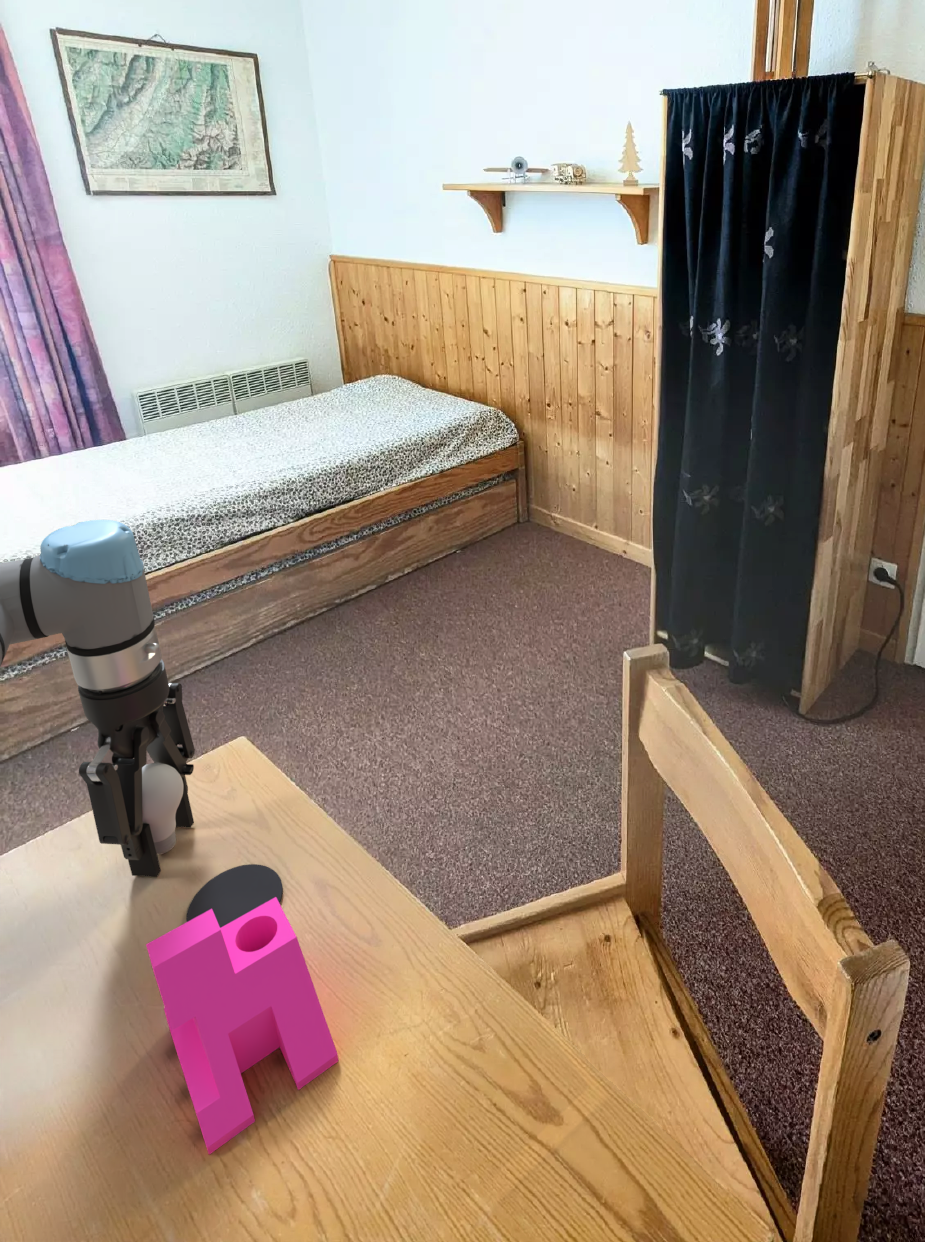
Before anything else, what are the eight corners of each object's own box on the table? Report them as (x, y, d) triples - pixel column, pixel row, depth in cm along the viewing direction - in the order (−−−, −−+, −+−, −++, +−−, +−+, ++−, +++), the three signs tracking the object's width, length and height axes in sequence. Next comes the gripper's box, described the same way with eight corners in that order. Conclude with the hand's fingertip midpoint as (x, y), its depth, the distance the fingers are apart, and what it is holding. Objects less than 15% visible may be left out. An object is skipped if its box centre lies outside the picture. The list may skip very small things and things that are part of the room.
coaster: (168, 942, 75) (167, 939, 74) (215, 864, 83) (215, 861, 83) (258, 948, 74) (257, 945, 74) (297, 869, 82) (296, 866, 82)
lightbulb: (207, 839, 86) (190, 760, 82) (159, 881, 81) (138, 800, 77) (170, 820, 89) (152, 743, 85) (120, 861, 83) (98, 781, 80)
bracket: (169, 1028, 67) (145, 944, 64) (287, 956, 73) (272, 875, 70) (208, 1154, 59) (184, 1065, 55) (338, 1060, 65) (324, 975, 61)
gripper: (94, 737, 68) (146, 928, 76) (207, 621, 85) (238, 785, 93) (13, 733, 68) (72, 924, 76) (141, 618, 86) (179, 782, 94)
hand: (164, 847), depth 85 cm, fingers closed on lightbulb, 6 cm apart
